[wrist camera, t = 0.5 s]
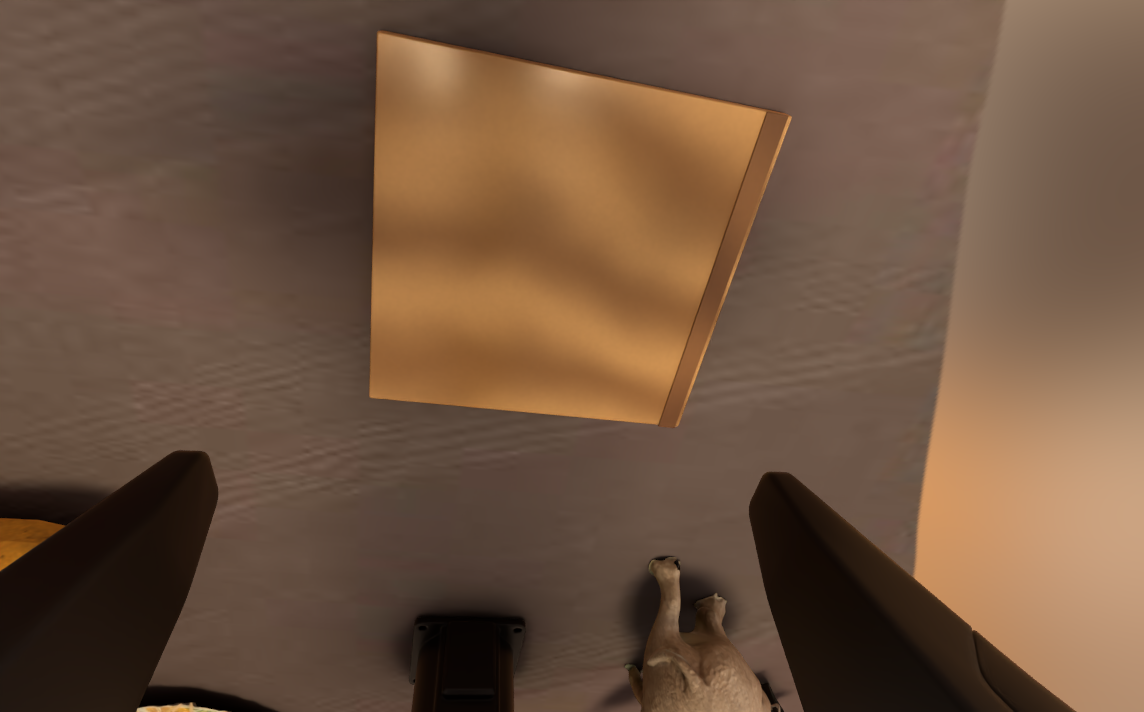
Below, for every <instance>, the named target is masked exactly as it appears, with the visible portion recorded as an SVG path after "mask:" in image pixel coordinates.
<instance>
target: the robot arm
mask: <svg viewBox="0 0 1144 712" xmlns="http://www.w3.org/2000/svg"><path fill="white" fill-rule="evenodd" d="M217 500H218V486H217V483H216V479H215V476H214V472H213V469H212V465H211V462H210V458H209V456H208V455H207V454H206V453H205V452H202V451H183V450H179V451H175V452H172V453H171V454H169V455H167V456H166V457H165V458H163V459H162V460H160V461H159V462H157V463H156V464H154V465H153V466H152V467H150V468H149V469H147V470H146V471H144V472H143V473H141V474H140V475H139V476H137V477H136V478H134V479H133V480H131V481H130V482H128V483H127V484H125V485H124V486H123V487H121V488H120V489H118V490H117V491H115V492H114V493H112V494H111V495H110V496H108V497H107V498H105V499H104V500H102V501H101V502H99V503H98V504H96V505H95V506H94V507H92V508H91V509H89V510H88V511H86V512H85V513H83V514H82V515H81V516H79V517H78V518H76V519H75V520H73V521H72V522H70V523H69V524H67V525H66V526H65V527H63V528H62V529H60V530H59V531H57V532H56V533H54V534H53V535H52V536H50V537H49V538H47V539H46V540H44V541H43V542H41V543H40V544H38V545H37V546H36V547H34V548H33V549H31V550H30V551H28V552H27V553H25V554H24V555H23V556H21V557H20V558H18V559H17V560H15V561H14V562H12V563H11V564H10V565H8V566H7V567H5V568H4V569H2V570H1V571H0V712H136V711H137V709H138V707H139V704H140V702H141V700H142V698H143V695H144V693H145V691H146V689H147V687H148V684H149V682H150V680H151V678H152V675H153V673H154V671H155V669H156V666H157V664H158V662H159V660H160V658H161V655H162V653H163V651H164V649H165V646H166V644H167V642H168V640H169V637H170V635H171V633H172V631H173V628H174V626H175V624H176V622H177V620H178V617H179V615H180V613H181V610H182V608H183V606H184V603H185V601H186V598H187V595H188V593H189V590H190V587H191V584H192V581H193V578H194V575H195V571H196V568H197V565H198V562H199V559H200V555H201V552H202V549H203V546H204V543H205V540H206V536H207V533H208V530H209V527H210V524H211V521H212V517H213V514H214V511H215V508H216V505H217ZM749 517H750V522H751V526H752V531H753V536H754V540H755V545H756V550H757V554H758V559H759V564H760V569H761V573H762V578H763V583H764V587H765V591H766V595H767V599H768V602H769V605H770V609H771V612H772V615H773V618H774V621H775V624H776V627H777V630H778V633H779V636H780V640H781V643H782V646H783V649H784V652H785V655H786V658H787V661H788V664H789V667H790V670H791V673H792V676H793V679H794V682H795V685H796V688H797V691H798V695H799V698H800V701H801V704H802V707H803V710H804V712H1076V711H1075V710H1073V709H1072V708H1070V707H1069V706H1068V705H1067V704H1066V703H1064V702H1063V701H1062V700H1060V699H1059V698H1058V697H1056V696H1055V695H1054V694H1052V693H1051V692H1050V691H1049V690H1047V689H1046V688H1045V687H1044V686H1042V685H1041V684H1040V683H1038V682H1037V681H1036V680H1035V679H1033V678H1032V677H1031V676H1030V675H1028V674H1027V673H1026V672H1025V671H1024V670H1022V669H1021V668H1020V667H1019V666H1017V665H1016V664H1015V663H1014V662H1013V661H1011V660H1010V659H1009V658H1008V657H1007V656H1005V655H1004V654H1003V653H1002V652H1000V651H999V650H998V649H997V648H996V647H994V646H993V645H992V644H991V643H990V642H989V641H987V640H986V639H985V638H984V637H983V636H982V635H980V634H979V633H978V632H977V631H975V630H973V631H972V628H971V626H969V625H968V624H967V623H966V622H965V621H964V620H962V619H961V618H960V617H959V616H958V615H956V614H955V613H954V612H953V611H952V610H951V609H949V608H948V607H947V606H946V605H945V604H944V603H942V602H941V601H940V600H939V599H938V598H937V597H935V596H934V595H933V594H932V593H930V591H928V590H927V589H926V588H925V587H924V586H922V585H921V584H920V583H919V582H918V581H917V580H915V579H914V578H913V577H912V576H911V575H909V574H908V573H907V572H906V571H905V570H904V569H902V568H901V567H900V566H899V565H898V564H897V563H895V562H894V561H893V560H892V559H891V558H889V557H888V556H887V555H886V554H885V553H884V552H882V551H881V550H880V549H879V548H878V547H876V546H875V545H874V544H873V543H872V542H871V541H869V540H868V539H867V538H866V537H865V536H864V535H862V534H861V533H860V532H859V531H858V530H856V529H855V528H854V527H853V526H852V525H851V524H849V523H848V522H847V521H846V520H845V519H843V518H842V517H841V516H840V515H839V514H838V513H836V512H835V511H834V510H833V509H832V508H831V507H829V506H828V505H827V504H826V503H825V502H823V501H822V500H821V499H820V498H819V497H818V496H816V495H815V494H814V493H813V492H812V491H810V490H809V489H808V488H807V487H806V486H805V485H803V484H802V483H801V482H800V481H799V480H798V479H796V478H795V477H794V476H793V475H791V474H789V473H786V472H766V473H765V474H764V475H763V476H762V478H761V480H760V482H759V484H758V487H757V489H756V491H755V493H754V495H753V497H752V499H751V502H750V505H749ZM525 631H526V628H525V622H524V621H523V620H521V619H494V618H456V617H419V618H417V619H416V620H415V624H414V633H413V644H412V654H411V665H410V676H409V682H410V683H411V684H413V685H415V686H414V694H413V702H412V711H411V712H514V688H513V678H514V674H515V670H516V666H517V662H518V658H519V654H520V650H521V647H522V643H523V639H524V635H525Z"/></svg>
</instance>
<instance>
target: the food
mask: <svg viewBox="0 0 1144 712" xmlns="http://www.w3.org/2000/svg"><path fill="white" fill-rule="evenodd" d="M136 712H231V711H226V710H223V711H220V710H216V709H208V708H207V707H203V708H202V707H197V706H196V703H176V704H174V705H171V704H170V705H166V706H151V705H149V706H145V707H138V709H137V711H136Z"/></svg>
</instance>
